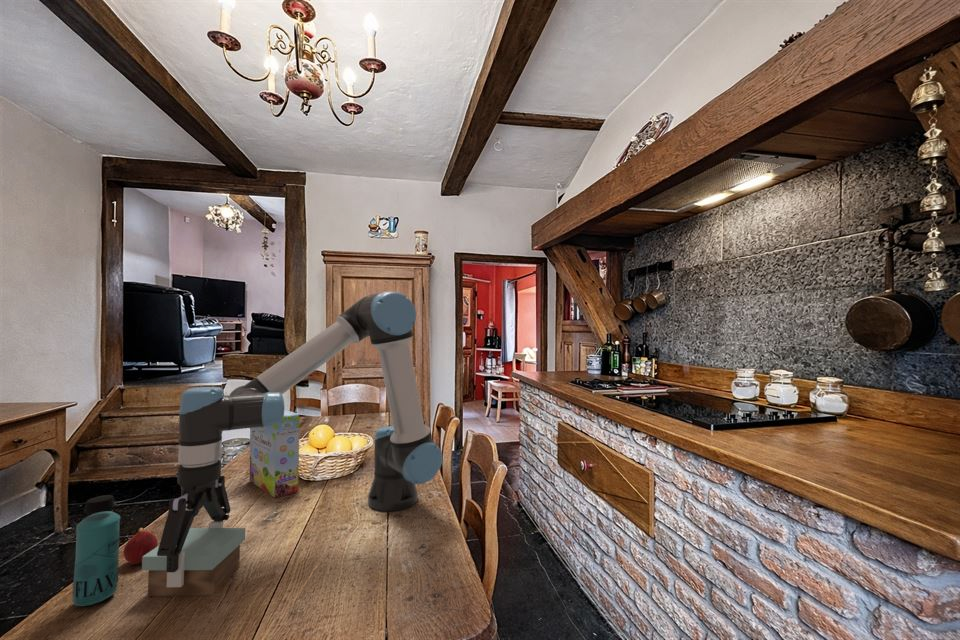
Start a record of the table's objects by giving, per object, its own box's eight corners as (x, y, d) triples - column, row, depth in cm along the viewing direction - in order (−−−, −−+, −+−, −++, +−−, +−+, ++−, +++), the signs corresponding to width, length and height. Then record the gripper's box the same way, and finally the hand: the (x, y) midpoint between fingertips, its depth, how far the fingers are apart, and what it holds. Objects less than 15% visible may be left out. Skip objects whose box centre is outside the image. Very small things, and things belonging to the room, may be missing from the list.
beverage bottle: (64, 619, 73) (69, 507, 73) (79, 598, 79) (84, 494, 79) (111, 608, 76) (115, 501, 76) (123, 588, 82) (127, 489, 82)
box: (239, 569, 88) (240, 542, 89) (211, 597, 79) (212, 566, 79) (181, 570, 88) (182, 542, 88) (147, 598, 79) (148, 567, 79)
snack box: (246, 482, 140) (248, 408, 141) (272, 475, 147) (274, 405, 147) (272, 499, 126) (274, 416, 127) (300, 491, 132) (302, 412, 133)
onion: (163, 560, 92) (164, 524, 92) (134, 574, 86) (135, 536, 87) (145, 555, 94) (147, 520, 94) (116, 569, 88) (118, 532, 89)
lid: (244, 545, 90) (245, 527, 90) (211, 576, 78) (212, 556, 78) (183, 545, 89) (184, 528, 89) (141, 576, 78) (142, 556, 78)
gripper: (217, 446, 96) (214, 538, 95) (134, 483, 72) (129, 606, 72) (249, 446, 96) (246, 538, 96) (176, 483, 73) (172, 606, 72)
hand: (196, 567), depth 84 cm, fingers closed on lid, 11 cm apart
